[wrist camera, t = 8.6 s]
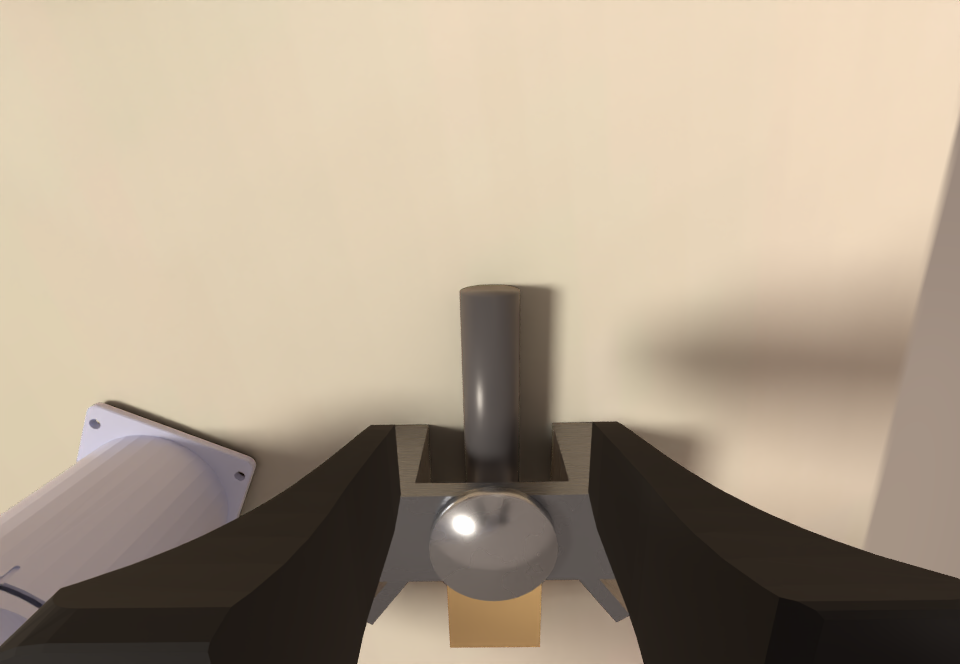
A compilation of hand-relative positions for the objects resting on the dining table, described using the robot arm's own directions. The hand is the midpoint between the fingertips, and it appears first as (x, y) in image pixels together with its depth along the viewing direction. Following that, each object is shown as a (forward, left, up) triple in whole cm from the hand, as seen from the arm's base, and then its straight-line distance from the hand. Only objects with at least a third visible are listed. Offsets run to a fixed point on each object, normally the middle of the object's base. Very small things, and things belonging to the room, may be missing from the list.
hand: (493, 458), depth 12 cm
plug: (-5, -3, -10) cm, 12 cm away
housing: (-7, -3, -10) cm, 13 cm away
